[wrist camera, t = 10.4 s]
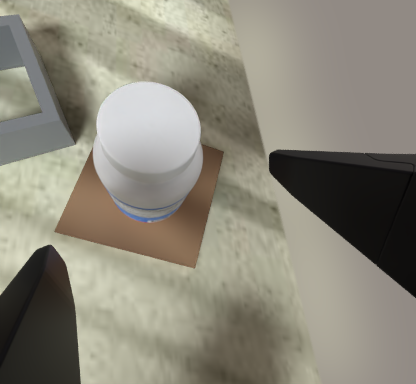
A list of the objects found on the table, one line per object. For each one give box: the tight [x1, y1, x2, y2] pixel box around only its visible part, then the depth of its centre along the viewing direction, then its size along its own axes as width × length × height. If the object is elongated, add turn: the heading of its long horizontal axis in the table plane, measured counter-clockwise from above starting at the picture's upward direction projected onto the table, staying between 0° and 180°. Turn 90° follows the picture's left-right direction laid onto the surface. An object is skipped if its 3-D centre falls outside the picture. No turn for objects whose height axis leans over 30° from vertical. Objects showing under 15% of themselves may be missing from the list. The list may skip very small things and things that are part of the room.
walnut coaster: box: [54, 144, 224, 268], centre depth 19 cm, size 10×10×1 cm
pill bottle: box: [93, 82, 203, 223], centre depth 14 cm, size 6×5×10 cm
